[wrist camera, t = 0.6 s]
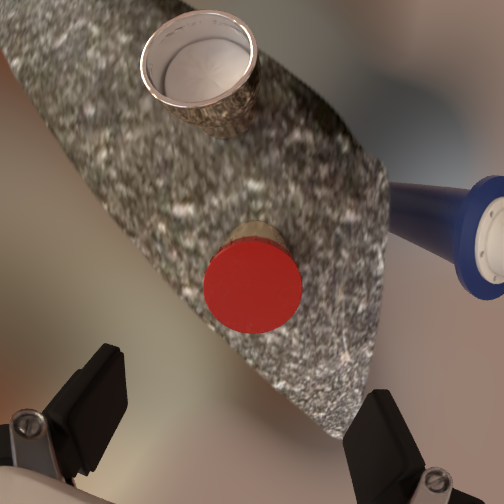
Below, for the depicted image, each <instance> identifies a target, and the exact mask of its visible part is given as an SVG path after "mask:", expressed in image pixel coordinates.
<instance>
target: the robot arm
mask: <svg viewBox="0 0 504 504" xmlns="http://www.w3.org/2000/svg"><path fill="white" fill-rule="evenodd" d="M475 260H476V265H477V268H478V271H479V272H480V274H481V276H482V277H483V278H484V279H485V280H487V281H488V282H490V283H493V284H500V283H503V282H504V197H499V198H497V199H495V200H494V201H492V202H491V203H490V204H489V205H488V207H487V208H486V210H485V211H484V213H483V215H482V217H481V219H480V222H479V225H478V229H477V233H476V238H475ZM127 405H128V399H127V389H126V378H125V364H124V354H123V353H122V352H120V348H119V347H116V346H113V345H109V344H107V343H104V344H103V345H102V346H101V347H100V348H99V350H98V351H97V352H96V353H95V354H94V355H93V357H92V358H91V359H90V360H89V361H88V363H87V364H86V365H85V366H84V367H83V368H82V369H78V370H77V371H76V372H75V373H74V374H73V375H72V376H71V378H70V379H69V380H68V381H67V383H66V384H65V385H64V386H63V387H62V388H61V390H60V391H59V392H58V393H57V394H56V396H55V397H54V398H53V399H52V401H51V402H50V403H49V404H48V405H47V407H46V408H45V409H44V410H43V412H42V413H40V412H39V411H36V410H33V409H21V410H19V411H17V412H16V413H14V415H12V417H11V419H10V424H3V425H0V504H114V503H112V502H109V501H106V500H104V499H101V498H99V497H96V496H94V495H91V494H89V493H87V492H84V491H82V490H80V489H77V487H76V484H75V481H74V478H75V477H76V475H77V473H80V474H82V475H85V476H88V474H89V472H90V471H92V472H94V471H95V470H96V468H97V465H98V464H99V461H100V460H101V458H102V456H103V454H104V452H105V450H106V448H107V446H108V444H109V442H110V440H111V438H112V436H113V434H114V432H115V430H116V429H117V427H118V425H119V423H120V421H121V419H122V417H123V415H124V413H125V411H126V409H127ZM343 447H344V451H345V454H346V458H347V463H348V466H349V471H350V475H351V478H352V483H353V487H354V491H355V496H356V500H357V504H485V503H484V502H483V501H482V500H480V499H478V498H476V497H473V496H471V495H468V494H466V493H463V492H461V491H459V490H456V489H454V488H452V486H453V481H452V477H451V476H450V474H449V473H448V472H447V471H446V470H444V469H442V468H439V467H431V468H428V469H427V470H426V469H425V467H424V466H425V462H424V460H423V458H422V456H421V453H420V451H419V449H418V447H417V445H416V443H415V441H414V439H413V437H412V435H411V433H410V431H409V429H408V427H407V425H406V423H405V421H404V419H403V417H402V415H401V413H400V411H399V409H398V407H397V405H396V403H395V401H394V399H393V397H392V395H391V393H390V391H389V390H387V389H386V390H385V389H375V390H373V391H372V392H371V393H369V394H368V395H367V397H366V398H365V400H364V402H363V404H362V406H361V408H360V409H359V411H358V413H357V415H356V417H355V418H354V420H353V422H352V424H351V425H350V427H349V429H348V430H347V432H346V434H345V435H344V437H343Z"/></svg>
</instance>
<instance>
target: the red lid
mask: <svg viewBox="0 0 504 504" xmlns="http://www.w3.org/2000/svg"><path fill="white" fill-rule="evenodd" d="M210 262H211V263H210V265H209V266H208V268H207V270H206V271H205V277H204V282H203V292H204V298H205V301H206V304H207V306H208V308H209V310H210V311H211V313H212V314H213V315H214V316H215V318H216V319H217V320H218V321H220V322H221V323H222V324H224V325H225V326H227V327H228V328H230V329H233V330H235V331H238V332H242V333H249V334H257V333H264V332H268V331H271V330H274V329H276V328H278V327H280V326H281V325H283V324H284V323H285V322H287V321H288V320H289V319H290V318H291V317H292V316H293V314H294V313H295V311H296V310H297V308H298V306H299V304H300V301H301V297H302V288H303V287H302V276H301V274H300V272H299V270H298V264H297V262H296V261H295V260H294V259H293V257H292V256H291V253H290V251H287V250H286V249H285V248H284V247H283V246H282V245H281V243H277V242H275V241H273V240H271V239H269V238H265V237H259V236H257V235H255V236H247V237H244V236H242V237H241V238H238V239H235V240H233V241H232V240H231V241H230V242H229V243H227V244H226V245H225V246H223V247H220V249H219V251H218V252H217V253H216V255H215V256H213V257H212V259H211V260H210Z"/></svg>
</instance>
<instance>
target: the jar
mask: <svg viewBox="0 0 504 504" xmlns="http://www.w3.org/2000/svg"><path fill="white" fill-rule="evenodd" d="M255 235H257V236H259V237H265V238H269V239H271V240H273V241H275V242H277V243H281V245H282V246H283V247H284V248H285V249H286V250H287V247H286V245H285V242H284V240H283V237H282V236H281V234H280V233H279V231H278V230H277V229H276V228H274V227H273V226H271V225H270V224H268V223H265V222H261V221H249V222H245V223H243V224H240V225H239V226H237V227H236V228H235V229H234V230H233V231H232V232H231V233H230V234H229V236H228V238H227V240H226V242H225V243H224V245H223V246H225V245H226V244H227V243H229V242H230V241H231V240H232V241H233V240H235V239H238V238H241V237H242V236H244V237H247V236H255ZM287 251H288V250H287Z"/></svg>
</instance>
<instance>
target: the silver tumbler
mask: <svg viewBox="0 0 504 504" xmlns="http://www.w3.org/2000/svg"><path fill="white" fill-rule="evenodd" d="M140 72H141V77H142V80H143V83H144V85H145V87H146V88H147V90H148V91H149V92H150V93H151V94H152V95H153V96H154V97H155V98H156V99H157V100H158V101H159V102H160V103H161V104H162V105H163V106H164V107H165V108H166V109H167V110H168V111H170V112H171V113H172V114H173V115H174V116H176V117H177V118H179V119H181V120H183V121H184V122H186V123H188V124H191V125H194V126H197V127H201V128H202V129H203V130H204V131H205V132H206V133H207V134H209V135H210V136H212V137H215V138H219V139H231V138H235V137H238V136H240V135H242V134H243V133H245V132H246V131H247V130H248V129H249V128H250V127H251V125H252V124H253V122H254V119H255V116H256V104H255V101H256V99H257V96H258V94H259V90H260V83H261V66H260V60H259V55H258V51H257V43H256V40H255V37H254V35H253V33H252V31H251V30H250V28H249V27H248V26H247V25H246V24H245V23H244V22H243V21H242V20H240V19H239V18H237V17H236V16H233V15H231V14H229V13H226V12H223V11H218V10H195V11H191V12H187V13H184V14H181V15H179V16H176V17H174V18H172V19H171V20H169V21H167V22H166V23H165V24H163V25H162V26H161V27H160V28H159V29H157V30H156V31H155V33H154V34H153V35H152V36H151V37H150V39H149V40H148V42H147V44H146V45H145V48H144V50H143V53H142V56H141V61H140Z"/></svg>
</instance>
